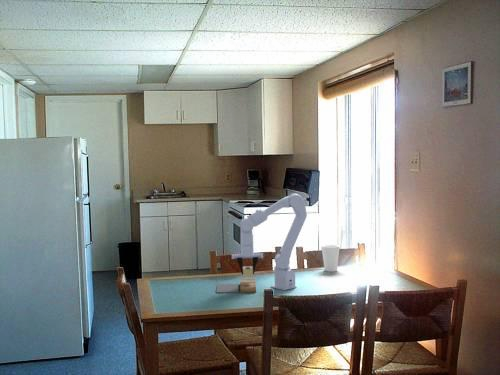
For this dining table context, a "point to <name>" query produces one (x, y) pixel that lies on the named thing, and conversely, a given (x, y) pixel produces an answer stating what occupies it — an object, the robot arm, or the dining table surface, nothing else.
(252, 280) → the body
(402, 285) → the dining table surface
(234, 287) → the mat
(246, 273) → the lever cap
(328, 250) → the foam cup
